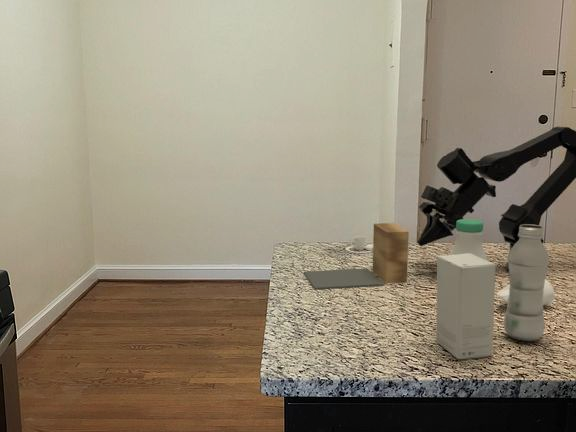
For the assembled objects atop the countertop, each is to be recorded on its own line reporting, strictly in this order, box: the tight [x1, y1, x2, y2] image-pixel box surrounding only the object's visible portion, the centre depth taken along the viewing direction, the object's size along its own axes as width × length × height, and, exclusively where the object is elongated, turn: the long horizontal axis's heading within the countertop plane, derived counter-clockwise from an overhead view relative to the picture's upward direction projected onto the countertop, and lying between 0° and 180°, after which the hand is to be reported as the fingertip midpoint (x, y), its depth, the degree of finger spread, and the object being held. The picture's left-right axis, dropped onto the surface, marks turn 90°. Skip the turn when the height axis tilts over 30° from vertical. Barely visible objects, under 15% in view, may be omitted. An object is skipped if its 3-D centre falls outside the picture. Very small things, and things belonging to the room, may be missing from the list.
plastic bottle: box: [503, 224, 550, 342], centre depth 101 cm, size 6×7×20 cm
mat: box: [303, 267, 385, 290], centre depth 137 cm, size 16×13×1 cm
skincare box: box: [435, 253, 497, 360], centre depth 97 cm, size 8×7×16 cm
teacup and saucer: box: [345, 235, 373, 254], centre depth 165 cm, size 9×8×4 cm
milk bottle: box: [448, 218, 489, 261], centre depth 106 cm, size 8×8×20 cm
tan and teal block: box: [372, 222, 410, 284], centre depth 138 cm, size 5×10×12 cm, turn 10°
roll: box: [495, 278, 556, 306], centre depth 117 cm, size 6×12×6 cm, turn 112°
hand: (419, 244), depth 139 cm, fingers closed
